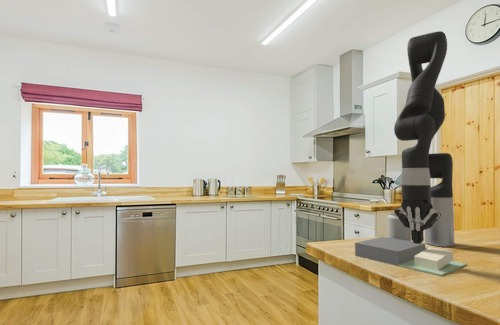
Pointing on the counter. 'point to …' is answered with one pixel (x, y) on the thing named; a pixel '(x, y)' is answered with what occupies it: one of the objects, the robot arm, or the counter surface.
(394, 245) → the block
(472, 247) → the counter surface
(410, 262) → the mat
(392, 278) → the counter surface
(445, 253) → the cream rectangular slab
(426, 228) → the robot arm
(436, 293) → the counter surface
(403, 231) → the can
